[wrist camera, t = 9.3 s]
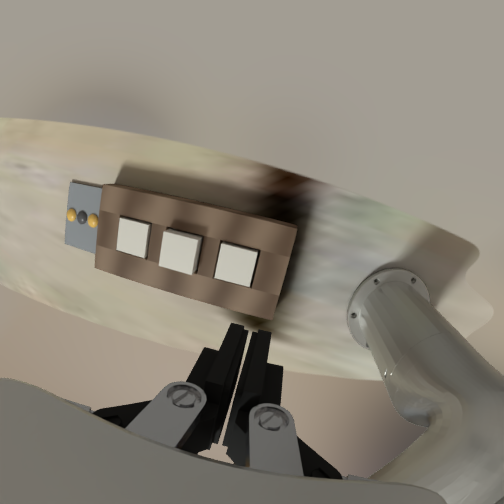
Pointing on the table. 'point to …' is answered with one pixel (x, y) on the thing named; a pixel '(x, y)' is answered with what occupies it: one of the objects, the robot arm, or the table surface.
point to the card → (82, 216)
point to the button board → (214, 233)
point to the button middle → (180, 251)
